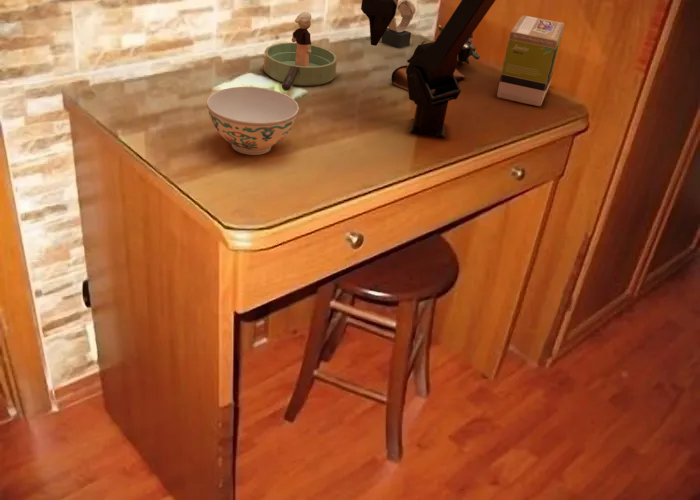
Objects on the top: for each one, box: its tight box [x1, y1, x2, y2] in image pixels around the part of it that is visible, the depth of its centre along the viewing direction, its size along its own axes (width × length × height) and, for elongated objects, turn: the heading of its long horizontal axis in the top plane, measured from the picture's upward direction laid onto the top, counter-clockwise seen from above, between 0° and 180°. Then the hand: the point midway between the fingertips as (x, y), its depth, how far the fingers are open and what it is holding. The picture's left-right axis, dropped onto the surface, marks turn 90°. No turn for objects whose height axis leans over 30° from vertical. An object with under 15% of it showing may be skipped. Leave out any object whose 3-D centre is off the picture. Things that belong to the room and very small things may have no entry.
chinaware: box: [206, 86, 300, 156], centre depth 123 cm, size 15×15×8 cm
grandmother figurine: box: [291, 11, 312, 66], centre depth 153 cm, size 8×4×13 cm, turn 42°
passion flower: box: [419, 24, 481, 65], centre depth 170 cm, size 11×11×12 cm
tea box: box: [496, 14, 565, 107], centre depth 159 cm, size 15×10×15 cm, turn 160°
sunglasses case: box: [390, 64, 466, 92], centre depth 161 cm, size 18×7×7 cm, turn 139°
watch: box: [380, 0, 417, 49], centre depth 179 cm, size 6×8×11 cm
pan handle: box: [281, 66, 299, 92], centre depth 144 cm, size 11×2×2 cm, turn 174°
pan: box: [263, 42, 338, 87], centre depth 155 cm, size 15×15×4 cm
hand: (376, 37), depth 141 cm, fingers open, 9 cm apart
